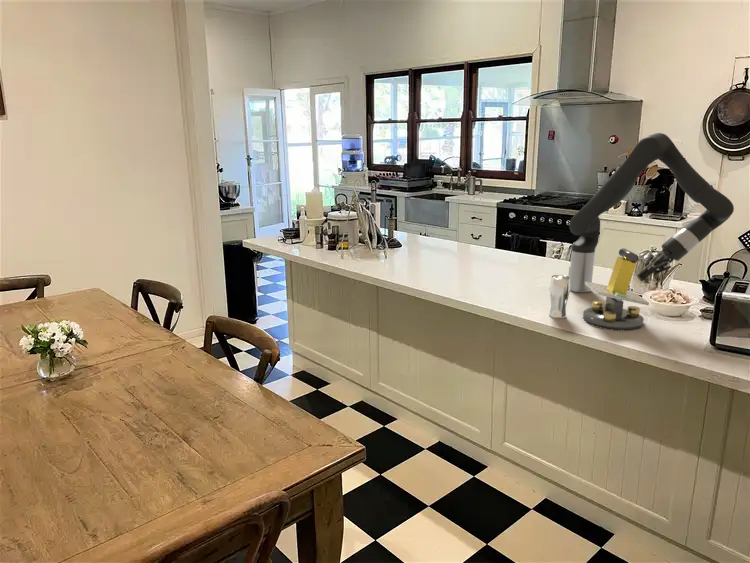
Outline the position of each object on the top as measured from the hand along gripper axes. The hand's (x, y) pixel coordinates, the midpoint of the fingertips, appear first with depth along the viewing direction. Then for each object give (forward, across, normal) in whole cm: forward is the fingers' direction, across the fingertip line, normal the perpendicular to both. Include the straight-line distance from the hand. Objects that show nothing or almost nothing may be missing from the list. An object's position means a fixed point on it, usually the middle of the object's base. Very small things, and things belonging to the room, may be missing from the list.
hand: (639, 278), depth 194 cm
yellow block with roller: (+10, 0, -1) cm, 10 cm away
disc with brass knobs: (+17, 0, +6) cm, 18 cm away
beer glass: (+30, -5, -7) cm, 31 cm away
